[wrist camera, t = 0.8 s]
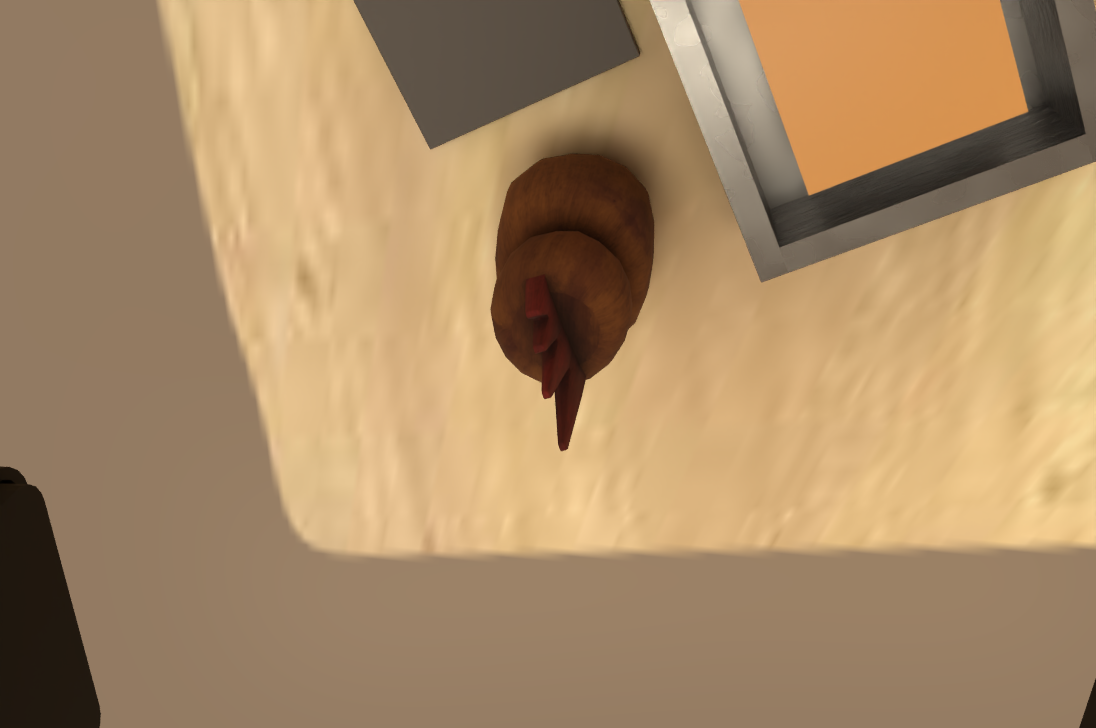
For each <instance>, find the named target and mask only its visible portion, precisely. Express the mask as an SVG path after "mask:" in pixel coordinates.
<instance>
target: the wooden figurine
mask: <svg viewBox="0 0 1096 728" xmlns="http://www.w3.org/2000/svg"><path fill="white" fill-rule="evenodd" d="M653 253H654V220H653V215H652V210H651V205H650V200H649V195H648V192H647V191H646V189H645V187H644V186H643V185H642V184H641V183H640V182H639V181H638V180H637V179H636V177H635V176H634V175H633V174H632V173H631V172H630V171H629V170H628V169H627V168H626V167H625V166H623V165H621V164H619V163H616V162H614V161H612V160H609V159H607V158H605V157H602V156H600V155H592V154H568V155H562V156H556V157H551V158H545V159H542V160H540V161H538V162H536V163H535V164H534V165H533V166H531V167H530V168H529V169H528V170H526V171H525V172H524V173H523V174H521V175H520V176H519V177H518V178H516V179H515V180H514V181H513V182H512V183H511V185H510V187H509V189H508V191H507V195H506V199H505V203H504V207H503V211H502V215H501V219H500V223H499V228H498V234H497V246H496V257H495V261H496V274H497V280H496V284H495V288H494V293H493V298H492V304H491V316H492V321H493V326H494V332H495V336H496V339H497V341H498V343H499V345H500V347H501V349H502V350H503V352H504V354H505V356H506V357H507V359H508V360H509V361H510V362H511V363H512V364H513V365H514V366H515V367H516V368H517V369H518V370H519V371H520V372H521V373H523V374H525V375H527V376H529V377H531V378H533V379H535V380H537V381H539V382H542V395H543V397H544V399H547V398H551V397H552V395H553V394H554V392H555V404H556V419H557V435H558V445H559V448H560V450H561V451H564V450H567V449H568V446H569V442H570V439H571V435H572V431H573V427H574V424H575V420H576V416H577V412H578V409H579V405H580V401H581V397H582V393H583V389H584V384H585V380H587V379H590V378H591V377H593V376H594V375H595V374H597V373H598V372H599V371H600V370H602V369H603V368H604V367H606V366H607V365H608V364H609V363H610V362H611V361H612V360H613V358H614V357H615V355H616V353H617V352H618V350H619V349H620V347H621V346H622V344H623V342H624V341H625V338H626V334H627V331H628V329H629V328H630V327H631V326H632V325H633V324H634V323H635V322H636V320H637V317H638V315H639V312H640V310H641V308H642V305H643V303H644V300H645V298H646V295H647V292H648V288H649V283H650V277H651V270H652V264H653Z"/></svg>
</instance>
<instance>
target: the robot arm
mask: <svg viewBox="0 0 1096 728" xmlns="http://www.w3.org/2000/svg"><path fill="white" fill-rule="evenodd" d="M100 715H101V713H100V706H99V702H98V699H97V695H96V691H95V687H94V683H93V680H92V676H91V673H90V669H89V665H88V661H87V657H86V654H85V650H84V646H83V643H82V639H81V635H80V631H79V628H78V624H77V621H76V616H75V613H74V609H73V605H72V602H71V598H70V594H69V590H68V587H67V583H66V579H65V575H64V572H63V568H62V564H61V561H60V557H59V553H58V550H57V546H56V542H55V538H54V535H53V531H52V527H51V523H50V520H49V516H48V512H47V508H46V505H45V501H44V498H43V496H42V494H41V492H40V491H39V490H38V489H37V487H35V486H32V485H28V484H27V482H26V480H25V478H24V476H23V475H22V474H21V473H20V472H19V471H18V470H16V469H13V468H11V467H0V728H99V726H100ZM1079 728H1096V680H1095V683H1094V685H1093V688H1092V691H1091V694H1090V697H1089V700H1088V703H1087V706H1086V709H1085V712H1084V715H1083V718H1082V721H1081V724H1080V727H1079Z"/></svg>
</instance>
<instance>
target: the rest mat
mask: <svg viewBox="0 0 1096 728" xmlns="http://www.w3.org/2000/svg"><path fill="white" fill-rule="evenodd" d="M354 2H355V4H356V6H357V8H358V10H359V12H360V14H361V16H362V18H363V20H364V22H365V24H366V26H367V28H368V29H369V31H370V33H371V35H372V37H373V39H374V41H375V43H376V45H377V47H378V49H379V51H380V53H381V55H382V57H383V59H384V61H385V62H386V64H387V66H388V68H389V70H390V72H391V74H392V76H393V78H394V80H395V82H396V84H397V86H398V88H399V90H400V92H401V94H402V95H403V97H404V99H405V101H406V103H407V105H408V107H409V109H410V111H411V113H412V115H413V117H414V119H415V121H416V123H417V125H418V127H419V128H420V130H421V132H422V134H423V136H424V138H425V140H426V142H427V144H428V146H429V148H430V149H433V148H435V147H437V146H439V145H441V144H444V143H446V142H448V141H450V140H453V139H455V138H457V137H459V136H462V135H464V134H466V133H468V132H470V131H473V130H475V129H477V128H479V127H482V126H484V125H486V124H488V123H491V122H493V121H495V120H497V119H500V118H502V117H504V116H506V115H508V114H511V113H513V112H515V111H517V110H520V109H522V108H524V107H526V106H529V105H531V104H533V103H535V102H538V101H540V100H542V99H544V98H546V97H549V96H551V95H553V94H555V93H558V92H560V91H562V90H564V89H567V88H569V87H571V86H573V85H576V84H578V83H580V82H582V81H584V80H587V79H589V78H591V77H593V76H596V75H598V74H600V73H602V72H605V71H607V70H609V69H611V68H614V67H616V66H618V65H620V64H622V63H625V62H627V61H629V60H631V59H634V58H636V57H638V56H639V55H640V52H639V49H638V47H637V45H636V42H635V40H634V37H633V35H632V32H631V30H630V27H629V25H628V23H627V20H626V18H625V15H624V13H623V10H622V8H621V5H620V3H619V1H618V0H354Z"/></svg>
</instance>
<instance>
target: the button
mask: <svg viewBox="0 0 1096 728" xmlns="http://www.w3.org/2000/svg"><path fill="white" fill-rule="evenodd" d="M739 3H740V6H741V8H742V11H743V14H744V17H745V20H746V22H747V25H748V28H749V31H750V33H751V36H752V39H753V42H754V44H755V47H756V50H757V53H758V56H759V58H760V61H761V64H762V67H763V69H764V72H765V75H766V78H767V81H768V83H769V86H770V89H771V92H772V94H773V97H774V100H775V103H776V106H777V108H778V111H779V114H780V117H781V119H782V122H783V125H784V128H785V130H786V133H787V136H788V139H789V142H790V144H791V147H792V150H793V153H794V155H795V158H796V161H797V164H798V167H799V169H800V172H801V175H802V178H803V180H804V183H805V186H806V189H807V191H808V194H809V195H812V194H814V193H817V192H820V191H822V190H825V189H827V188H830V187H833V186H835V185H838V184H841V183H843V182H846V181H848V180H851V179H854V178H856V177H859V176H861V175H864V174H867V173H869V172H872V171H874V170H877V169H880V168H882V167H885V166H888V165H890V164H893V163H895V162H898V161H901V160H903V159H906V158H908V157H911V156H914V155H916V154H919V153H922V152H924V151H927V150H929V149H932V148H935V147H937V146H940V145H942V144H945V143H948V142H950V141H953V140H955V139H958V138H961V137H963V136H966V135H969V134H971V133H974V132H976V131H979V130H982V129H984V128H987V127H989V126H992V125H995V124H997V123H1000V122H1002V121H1005V120H1008V119H1010V118H1013V117H1016V116H1018V115H1021V114H1023V113H1026V112H1028V108H1027V104H1026V100H1025V97H1024V93H1023V89H1022V85H1021V81H1020V77H1019V73H1018V69H1017V65H1016V61H1015V57H1014V54H1013V50H1012V46H1011V42H1010V38H1009V34H1008V30H1007V26H1006V22H1005V18H1004V14H1003V10H1002V7H1001V3H1000V0H739Z"/></svg>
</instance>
